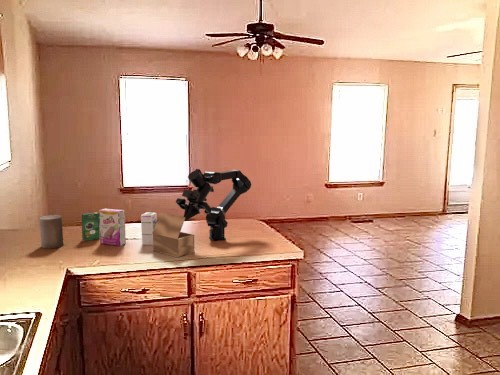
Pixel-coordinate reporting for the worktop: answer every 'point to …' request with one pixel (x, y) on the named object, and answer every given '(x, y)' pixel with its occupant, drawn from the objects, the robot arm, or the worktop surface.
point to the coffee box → (90, 226)
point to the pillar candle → (51, 231)
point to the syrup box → (148, 227)
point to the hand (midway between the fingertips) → (183, 220)
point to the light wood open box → (174, 244)
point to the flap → (169, 225)
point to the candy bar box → (112, 227)
